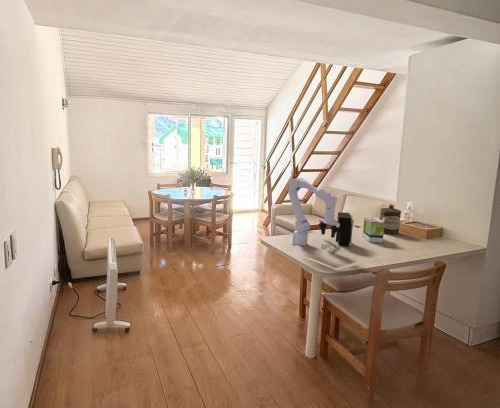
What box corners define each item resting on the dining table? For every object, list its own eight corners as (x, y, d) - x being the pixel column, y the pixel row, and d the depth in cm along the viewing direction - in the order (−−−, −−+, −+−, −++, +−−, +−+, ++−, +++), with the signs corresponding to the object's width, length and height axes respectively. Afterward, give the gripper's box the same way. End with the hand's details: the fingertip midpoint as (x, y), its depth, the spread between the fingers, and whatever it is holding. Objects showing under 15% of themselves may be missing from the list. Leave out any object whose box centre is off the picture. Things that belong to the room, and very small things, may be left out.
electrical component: (351, 248, 225) (354, 218, 221) (335, 247, 227) (338, 217, 223) (349, 241, 242) (352, 213, 238) (334, 240, 244) (337, 212, 240)
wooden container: (381, 234, 264) (385, 206, 261) (375, 229, 279) (378, 202, 275) (401, 235, 264) (405, 207, 260) (394, 230, 279) (397, 203, 275)
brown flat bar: (323, 241, 217) (324, 239, 217) (332, 246, 224) (333, 244, 224) (328, 242, 214) (328, 240, 215) (337, 248, 221) (338, 246, 221)
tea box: (383, 242, 242) (385, 222, 239) (368, 242, 242) (370, 221, 239) (375, 237, 256) (377, 217, 254) (362, 236, 256) (364, 216, 254)
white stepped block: (326, 250, 215) (327, 245, 214) (329, 249, 216) (329, 245, 216) (331, 252, 212) (331, 247, 211) (333, 251, 213) (334, 246, 213)
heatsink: (317, 249, 219) (317, 245, 219) (331, 246, 227) (331, 242, 226) (330, 254, 211) (331, 250, 210) (344, 251, 218) (345, 246, 218)
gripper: (316, 212, 217) (314, 233, 219) (334, 217, 205) (332, 239, 208) (324, 211, 221) (322, 232, 223) (342, 216, 210) (340, 238, 212)
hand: (327, 235), depth 216 cm, fingers open, 7 cm apart
